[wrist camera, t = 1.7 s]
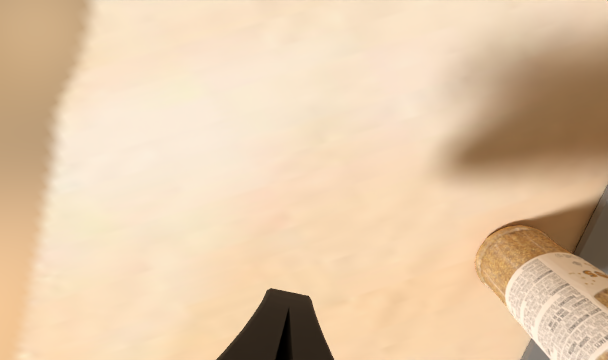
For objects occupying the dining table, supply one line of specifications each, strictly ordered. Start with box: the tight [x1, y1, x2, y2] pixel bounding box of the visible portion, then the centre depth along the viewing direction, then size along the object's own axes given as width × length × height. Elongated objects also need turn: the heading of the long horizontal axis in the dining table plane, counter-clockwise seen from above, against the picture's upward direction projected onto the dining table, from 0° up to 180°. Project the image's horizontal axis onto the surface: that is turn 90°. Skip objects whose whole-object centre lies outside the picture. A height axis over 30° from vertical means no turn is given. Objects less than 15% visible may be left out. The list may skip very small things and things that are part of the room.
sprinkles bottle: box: [475, 225, 608, 360], centre depth 13 cm, size 5×5×13 cm
